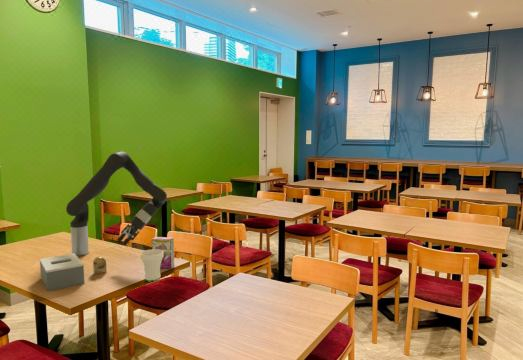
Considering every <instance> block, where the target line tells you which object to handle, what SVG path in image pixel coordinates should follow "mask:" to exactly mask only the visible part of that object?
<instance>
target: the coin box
mask: <svg viewBox="0 0 523 360" xmlns="http://www.w3.org/2000/svg"><path fill="white" fill-rule="evenodd" d="M39 265H40V266H39V269H40V279H41V280H42V283H43V285H44V287H45V289H46V291H47V292H51V291H54V290H55V291H56V290H60V289H65V288H69V287H74V286H78V285H83V284H85V270H84V269H85V268H84V262H83V261H82V260H81V259H80V258H79V257H78V256H76V255H75V253H73V254H72V253H69V254H63V255H62V254H61V255H56V256H51V257H45V258H39Z"/></svg>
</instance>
